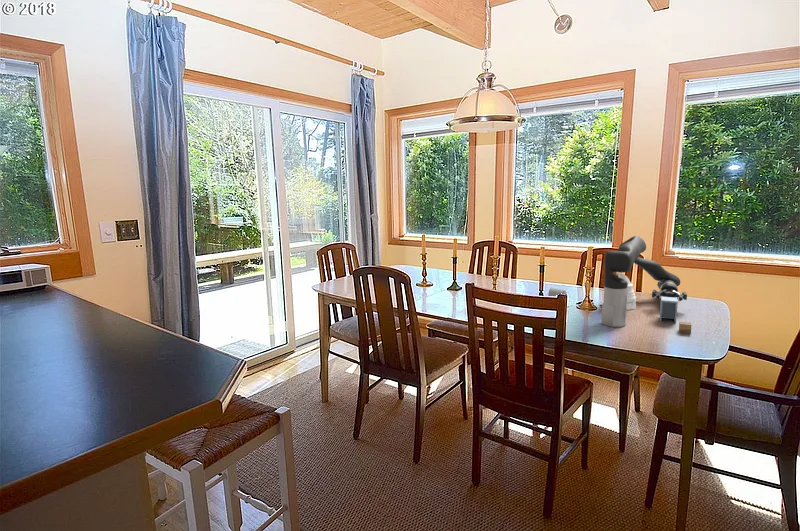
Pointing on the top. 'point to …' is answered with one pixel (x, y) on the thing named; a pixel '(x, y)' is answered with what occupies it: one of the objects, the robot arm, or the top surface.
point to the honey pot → (629, 293)
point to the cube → (685, 327)
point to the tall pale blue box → (668, 308)
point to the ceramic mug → (555, 292)
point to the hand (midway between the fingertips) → (669, 298)
